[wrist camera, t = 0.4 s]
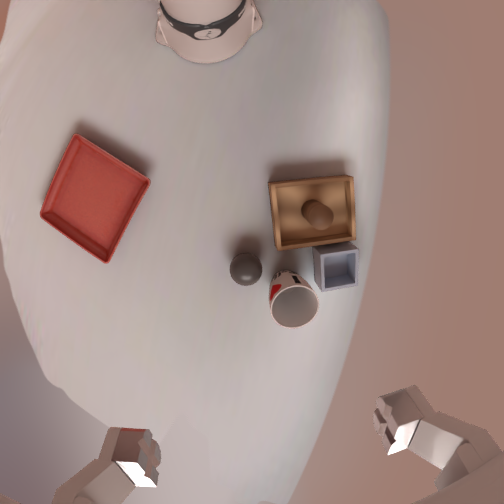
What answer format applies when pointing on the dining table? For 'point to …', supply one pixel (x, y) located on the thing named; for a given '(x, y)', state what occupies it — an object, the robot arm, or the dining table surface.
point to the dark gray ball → (246, 269)
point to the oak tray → (299, 229)
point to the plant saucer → (93, 197)
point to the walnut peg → (317, 214)
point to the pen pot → (336, 265)
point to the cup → (292, 300)
